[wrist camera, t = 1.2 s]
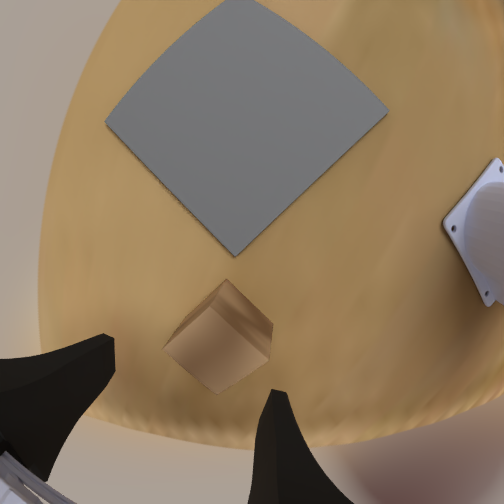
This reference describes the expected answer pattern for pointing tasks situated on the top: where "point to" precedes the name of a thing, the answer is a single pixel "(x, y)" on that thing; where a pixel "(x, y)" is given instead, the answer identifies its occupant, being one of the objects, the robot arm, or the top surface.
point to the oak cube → (222, 339)
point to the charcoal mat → (243, 118)
